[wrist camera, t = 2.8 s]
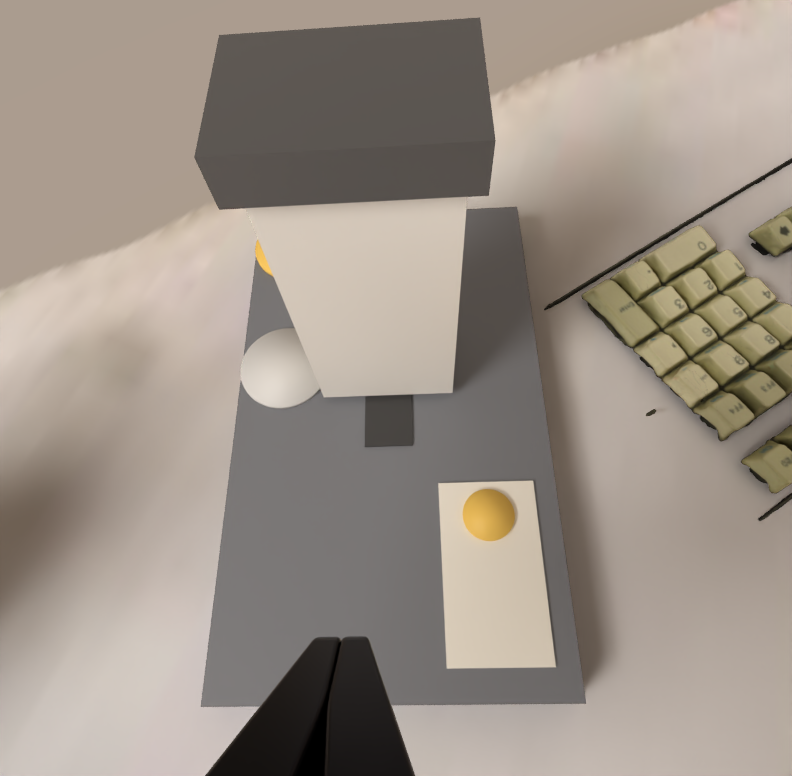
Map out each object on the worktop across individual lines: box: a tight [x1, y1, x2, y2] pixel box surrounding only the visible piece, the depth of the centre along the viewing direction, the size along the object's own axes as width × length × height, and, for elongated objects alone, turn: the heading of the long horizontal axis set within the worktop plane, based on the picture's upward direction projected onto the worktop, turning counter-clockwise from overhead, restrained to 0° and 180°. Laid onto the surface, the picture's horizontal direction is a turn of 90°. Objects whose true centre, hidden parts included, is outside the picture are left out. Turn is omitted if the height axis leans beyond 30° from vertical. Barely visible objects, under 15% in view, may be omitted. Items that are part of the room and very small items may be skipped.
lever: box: [195, 18, 495, 397], centre depth 17 cm, size 4×6×12 cm, turn 91°
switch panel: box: [201, 207, 586, 707], centre depth 22 cm, size 20×12×2 cm, turn 1°
